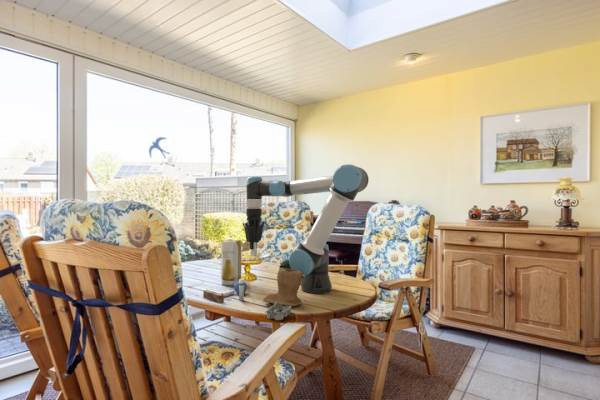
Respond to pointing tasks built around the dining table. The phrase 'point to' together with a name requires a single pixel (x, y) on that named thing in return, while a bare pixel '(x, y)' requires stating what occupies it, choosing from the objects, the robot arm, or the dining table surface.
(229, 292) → the white pin
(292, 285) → the brown boot
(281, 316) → the egg carton
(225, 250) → the juice carton
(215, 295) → the wall
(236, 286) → the ball
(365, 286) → the dining table surface
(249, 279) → the dining table surface
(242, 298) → the white rounded rod
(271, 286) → the dining table surface
